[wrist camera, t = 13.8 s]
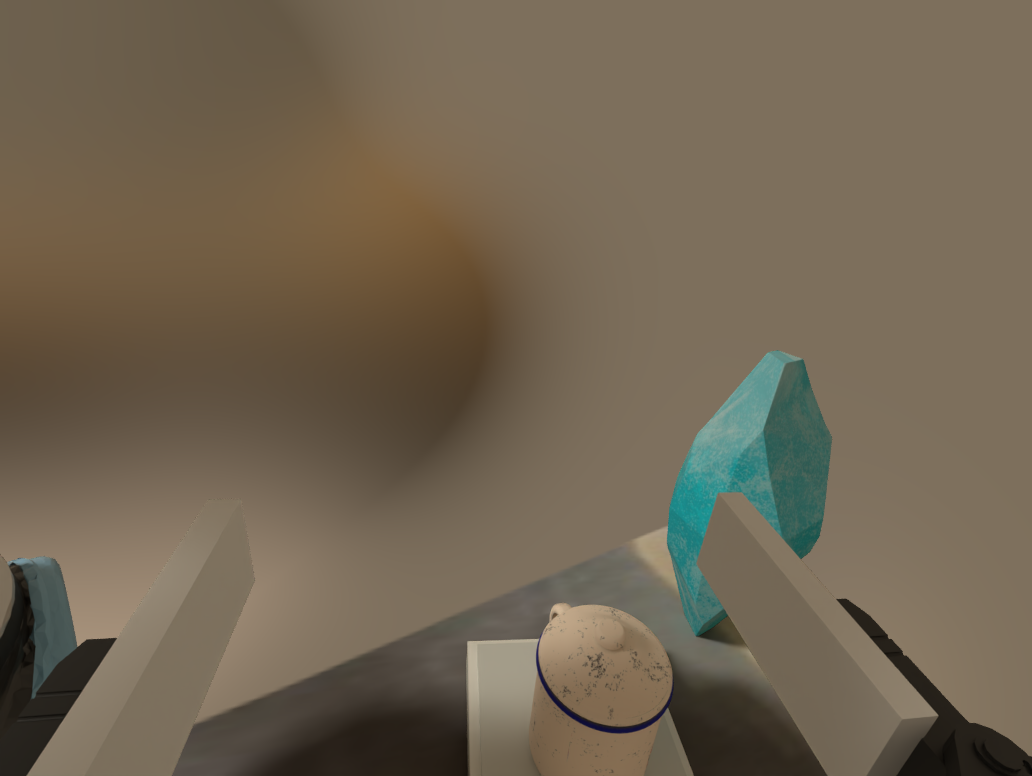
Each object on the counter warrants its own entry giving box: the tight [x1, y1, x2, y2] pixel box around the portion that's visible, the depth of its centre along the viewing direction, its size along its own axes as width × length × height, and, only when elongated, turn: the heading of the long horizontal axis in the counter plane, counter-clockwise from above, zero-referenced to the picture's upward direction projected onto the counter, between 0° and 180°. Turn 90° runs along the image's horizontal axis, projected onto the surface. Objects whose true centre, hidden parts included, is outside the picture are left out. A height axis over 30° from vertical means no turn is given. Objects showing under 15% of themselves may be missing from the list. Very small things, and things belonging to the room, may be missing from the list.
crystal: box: [667, 350, 832, 636], centre depth 47 cm, size 12×14×30 cm
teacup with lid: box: [529, 603, 674, 776], centre depth 36 cm, size 12×9×12 cm
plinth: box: [466, 639, 694, 776], centre depth 39 cm, size 16×16×4 cm
